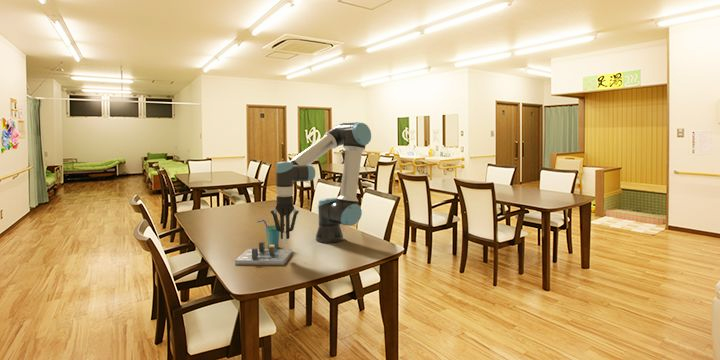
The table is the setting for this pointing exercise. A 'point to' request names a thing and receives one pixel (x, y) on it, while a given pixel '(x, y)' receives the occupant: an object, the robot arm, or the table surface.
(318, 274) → the table surface
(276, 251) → the panel
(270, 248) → the block
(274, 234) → the cup
